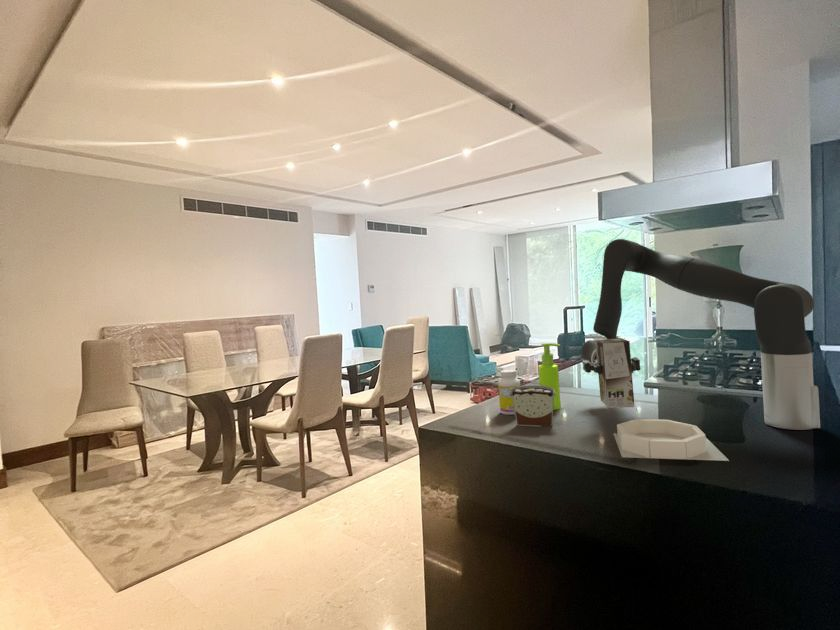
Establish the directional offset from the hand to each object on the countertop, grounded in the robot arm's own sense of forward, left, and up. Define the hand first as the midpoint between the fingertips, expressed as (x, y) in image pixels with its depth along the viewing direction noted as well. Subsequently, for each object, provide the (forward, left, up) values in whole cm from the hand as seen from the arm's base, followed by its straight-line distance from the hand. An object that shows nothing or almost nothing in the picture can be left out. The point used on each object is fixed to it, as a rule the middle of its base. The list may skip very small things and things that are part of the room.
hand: (615, 369), depth 107 cm
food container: (+20, -6, -16) cm, 26 cm away
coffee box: (0, -2, -9) cm, 10 cm away
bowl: (-7, +11, -15) cm, 20 cm away
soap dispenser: (+16, -23, -16) cm, 33 cm away
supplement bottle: (+28, -17, -16) cm, 37 cm away
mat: (-8, +11, -15) cm, 20 cm away
